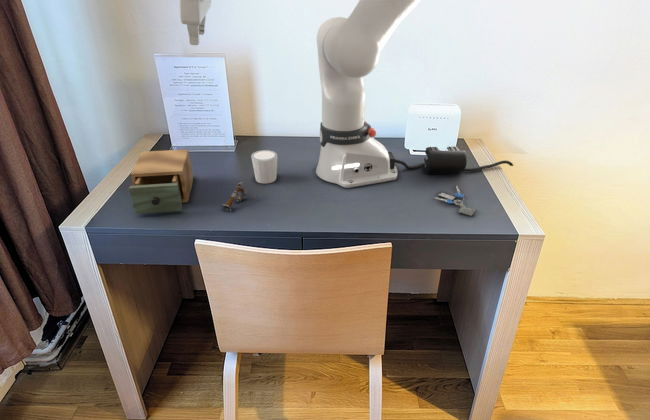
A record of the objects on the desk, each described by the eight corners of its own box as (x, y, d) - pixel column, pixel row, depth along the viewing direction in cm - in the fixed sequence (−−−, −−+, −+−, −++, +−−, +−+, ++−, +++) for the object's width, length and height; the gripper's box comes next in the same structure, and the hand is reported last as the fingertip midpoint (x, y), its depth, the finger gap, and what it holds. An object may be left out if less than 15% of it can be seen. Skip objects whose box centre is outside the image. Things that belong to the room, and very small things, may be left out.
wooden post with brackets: (250, 191, 108) (244, 180, 105) (234, 217, 104) (228, 206, 101) (244, 190, 109) (238, 179, 105) (228, 215, 105) (221, 204, 101)
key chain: (478, 216, 101) (479, 213, 100) (444, 218, 100) (445, 215, 100) (457, 187, 112) (458, 184, 112) (426, 188, 112) (427, 186, 111)
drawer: (181, 213, 100) (176, 187, 96) (134, 216, 98) (127, 190, 95) (187, 186, 110) (183, 163, 107) (145, 189, 109) (139, 165, 105)
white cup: (248, 182, 115) (246, 158, 111) (260, 171, 120) (258, 148, 116) (271, 186, 113) (270, 162, 109) (282, 175, 118) (281, 151, 114)
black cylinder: (428, 178, 117) (431, 155, 113) (421, 167, 123) (424, 145, 119) (464, 177, 117) (468, 155, 114) (455, 166, 123) (460, 144, 120)
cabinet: (188, 202, 106) (182, 171, 101) (138, 205, 104) (130, 174, 100) (193, 178, 116) (188, 149, 112) (148, 181, 115) (141, 151, 110)
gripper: (205, -27, 76) (207, 53, 84) (216, -37, 93) (217, 30, 101) (168, -32, 75) (173, 49, 83) (186, -41, 92) (189, 27, 100)
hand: (197, 39), depth 92 cm, fingers open, 8 cm apart
